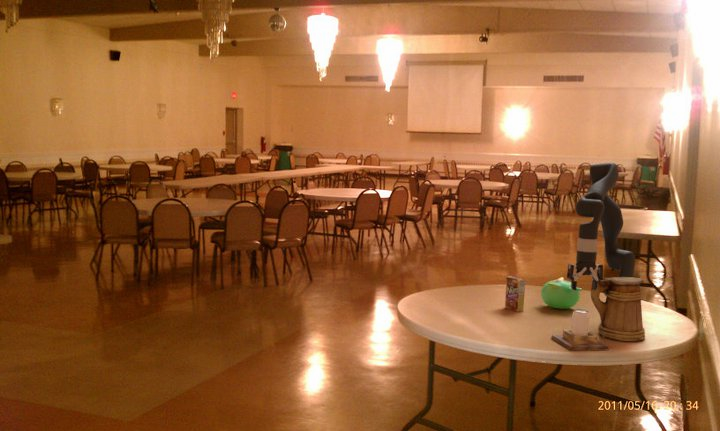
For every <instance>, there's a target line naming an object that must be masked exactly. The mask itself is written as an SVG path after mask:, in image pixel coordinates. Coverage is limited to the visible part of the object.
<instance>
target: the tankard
mask: <svg viewBox="0 0 720 431" xmlns="http://www.w3.org/2000/svg"><path fill="white" fill-rule="evenodd" d="M612 277H613V278H612ZM612 277H604V276H603V279H600V280H598V285H597V289H596V290H592V286H591V287H590V298H591V301H592V303H593V305H594V307H595V309H596V310H597V312H598V314H599V318H600V323H599V326H598V328H597V332H598V333H599V334H600V335H601V337H602V338H603V337H604V338H606V339H609V340H613V341H619V342H638V341H642V340H644V339H645V338H646V333H645V331H646V330H645V327H644V325H643V313H642V312H643V311H642V309H643V308H642V299H643V290H641V284H643V283H644V282H645V281H644V279H643V278H639V277H634V276H633V277H617V276H612ZM602 291H604V293H603V294H604V296H605V297H606V299H605V301H602V300H601V299H600V293H602Z"/></svg>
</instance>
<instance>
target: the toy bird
mask: <svg viewBox="0 0 720 431" xmlns="http://www.w3.org/2000/svg"><path fill="white" fill-rule="evenodd" d="M582 291H583V288H580V287H578V286H577V287H576V290H572V288H571V281H569V280H566V279H565V278H564V277H562V276H561V277H559V278H557V279H552V280H550V281H549V280H548V282H546V283H545V284H543V286H542V288H541V291H540V296H541V299H542V301H543V302H544V304H546V305H547V306H549V307H550V308H553V309H558V310H564V309H565V310H566V309H570V308H573V307H575V306H576V305H577V303H578V302H579V300H580V297H581V293H580V292H582Z"/></svg>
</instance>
